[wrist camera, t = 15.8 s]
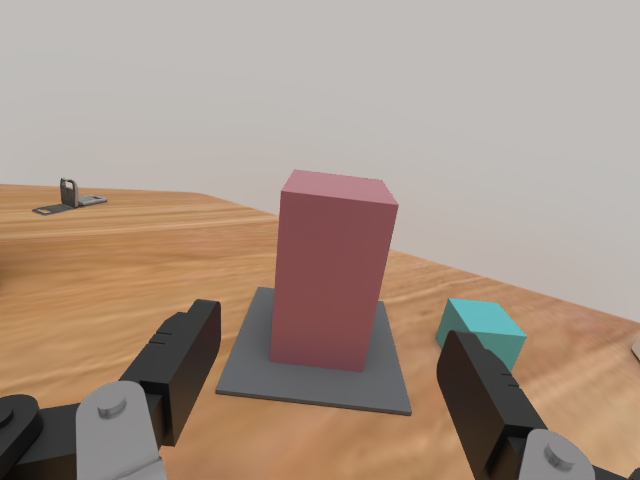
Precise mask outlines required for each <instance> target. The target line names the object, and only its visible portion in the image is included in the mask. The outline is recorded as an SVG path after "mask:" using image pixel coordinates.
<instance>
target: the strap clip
mask: <svg viewBox="0 0 640 480" xmlns="http://www.w3.org/2000/svg"><path fill="white" fill-rule="evenodd" d="M65 181H67V182H71V183H72V184H73V189H70V188H67V187H66V185H65ZM60 188H61V201H62V203H63V204H58V205H53V206H47V207H41V208H37V209H33V210H32V212H34V213H37V214H40V215H43V216H46V215H53V214H58V213H62V212H66V211H70V210H73V209H74V208H76V207H77V206H78V207H88V206H93V205H98V204H103V203H106V202H107V199H106V198H102V197H99V196H94V195H90V196H82V197H78V187H77V184H76V182H75V181H73V180H69V179H66V178H61V183H60ZM39 210H46V211H49V212H51V213H42V212H39Z"/></svg>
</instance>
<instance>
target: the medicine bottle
mask: <svg viewBox="0 0 640 480" xmlns="http://www.w3.org/2000/svg"><path fill="white" fill-rule="evenodd" d="M632 350H633V352H634V353H635V354H636V356H637V357H638V359H639V360H640V335H639V336H638V338H637V339H636V341H635V343H634V344H633V346H632Z"/></svg>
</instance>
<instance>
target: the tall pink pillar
mask: <svg viewBox="0 0 640 480" xmlns="http://www.w3.org/2000/svg"><path fill="white" fill-rule="evenodd" d="M397 210H398V203H397V202H396V200H395V199H394V198H393V196H392V194H391V193H390V191H389V190H388V189H387V187H386V185H385V184H384V183H383V181H382V180H376V179H368V178H359V177H352V176H343V175H335V174H327V173H319V172H310V171H302V170H294V171H293V173H292V174H291V176H290V178H289V179H288V181H287V182H286V184H285V186H284V187H283V189H282V190H281V200H280V215H279V230H278V245H277V260H276V275H275V289H274V304H273V319H272V334H271V349H270V362H275V363H284V364H293V365H301V366H310V367H319V368H327V369H336V370H344V371H353V372H363V367H364V363H365V358H366V353H367V349H368V344H369V340H370V335H371V330H372V326H373V321H374V316H375V312H376V307H377V303H378V298H379V293H380V289H381V284H382V280H383V275H384V270H385V266H386V261H387V256H388V252H389V247H390V243H391V238H392V233H393V229H394V224H395V219H396V215H397Z"/></svg>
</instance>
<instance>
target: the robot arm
mask: <svg viewBox="0 0 640 480" xmlns="http://www.w3.org/2000/svg"><path fill="white" fill-rule="evenodd" d="M220 342H221V305H220V302H218V301H210V300H201V299H197V300H196V301H195V302H194V303H193V305H192V306H191V308H190V309H189V310H188V312H187V313H183V312H178V313H176V314H175V315H173V316H171V317H170V318H168V319H167V320H165V321H164V323H163V324H162V325H161V326H160V328H159V329H158V330H157V332H156V334H154V335H153V337H152V338H151V339H150V340H149V343H148V344H146V346H145V347H144V348H143V349H142V351H141V352H140V353H139V355H138V356H137V357H136V358H135V360H134V361H133V362H132V363H131V365H130V366H129V367H128V369H127V370H126V371H125V372H124V374H123V375H122V376H121V378H120V379H119V380H118V381H117V382H112V383H109V384H106V385H104V386H102V387H100V388H98V389H96V390H95V391H93V392H92V393H90V394H89V395H88V396H87V397H86V398H85V399H84V400H83V401H82V402H81V403H77V404H71V405H65V406H58V407H52V408H46V409H39V406H38V403H37V401H36V399H35V398H33V397H32V396H29V395H23V394H18V395H10V396H5V397H2V398H0V480H167V477H166V473H165V468H164V465H163V461H162V458H161V457H160V456H159V452H158V451H159V449H160V447H161V445H163V446H172V447H175V445H176V443H177V441H178V438H179V436H180V434H181V432H182V430H183V428H184V425H185V423H186V421H187V419H188V417H189V415H190V412H191V410H192V408H193V406H194V404H195V402H196V400H197V397H198V395H199V393H200V391H201V389H202V387H203V384H204V382H205V380H206V378H207V376H208V374H209V372H210V369H211V367H212V365H213V363H214V361H215V359H216V356H217V354H218V351H219V347H220ZM437 380H438V383H439V386H440V389H441V391H442V394H443V397H444V399H445V402H446V404H447V407H448V410H449V412H450V415H451V418H452V420H453V423H454V425H455V428H456V431H457V433H458V436H459V439H460V441H461V444H462V447H463V449H464V452H465V454H466V457H467V460H468V462H469V465H470V468H471V470H472V473H473V475H474V478H475V480H640V468H637V469H635V470H634V472H633V473H632V474H631V475H630V477H629V478H628V479H627V478H624V477H622V476H619V475H617V474H614V473H612V472H609V471H607V470H604V469H601V468H599V467H596V466H594V465H591V463H590V461H589V460H588V458H587V457H586V456H585V455H584V453H583V452H582V451H581V450H580V449H579V448H578V447H577V446H575V445H574V444H573V443H572V442H570V441H569V440H568V439H566V438H564V437H563V436H561V435H559V434H557V433H555V432H552V431H549V430H548V428H547V427H546V425H545V424H544V422H543V421H542V419H541V418H540V416H539V415H538V413H537V412H536V410H535V409H534V407H533V406H532V404H531V403H530V401H529V400H528V398H527V397H526V395H525V394H524V392H523V391H522V389H520V388H519V385H518V383H517V382H516V380H515V379H514V377H512V374H511V373H510V371H509V370H508V368H507V367H506V365H505V364H504V362H503V361H502V360H501V359H500V358H498V357H497V356H496V355H495V354H494V353H493V352H492V351H491V350H489V349H485V348H484V347H483V345H482V343H481V342H480V340H479V339H478V337H477V335H476V334H475V333H473V332H464V331H456V330H450V331H449V332H448V334H447V337H446V340H445V343H444V346H443V349H442V352H441V355H440V357H439V360H438V364H437Z"/></svg>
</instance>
